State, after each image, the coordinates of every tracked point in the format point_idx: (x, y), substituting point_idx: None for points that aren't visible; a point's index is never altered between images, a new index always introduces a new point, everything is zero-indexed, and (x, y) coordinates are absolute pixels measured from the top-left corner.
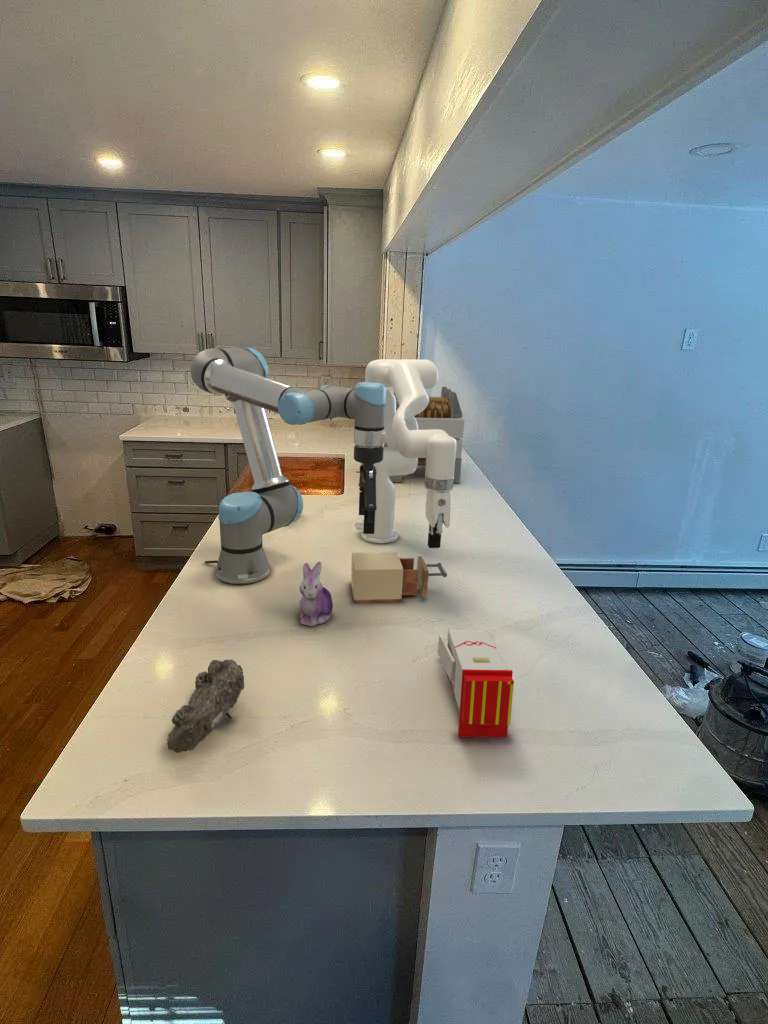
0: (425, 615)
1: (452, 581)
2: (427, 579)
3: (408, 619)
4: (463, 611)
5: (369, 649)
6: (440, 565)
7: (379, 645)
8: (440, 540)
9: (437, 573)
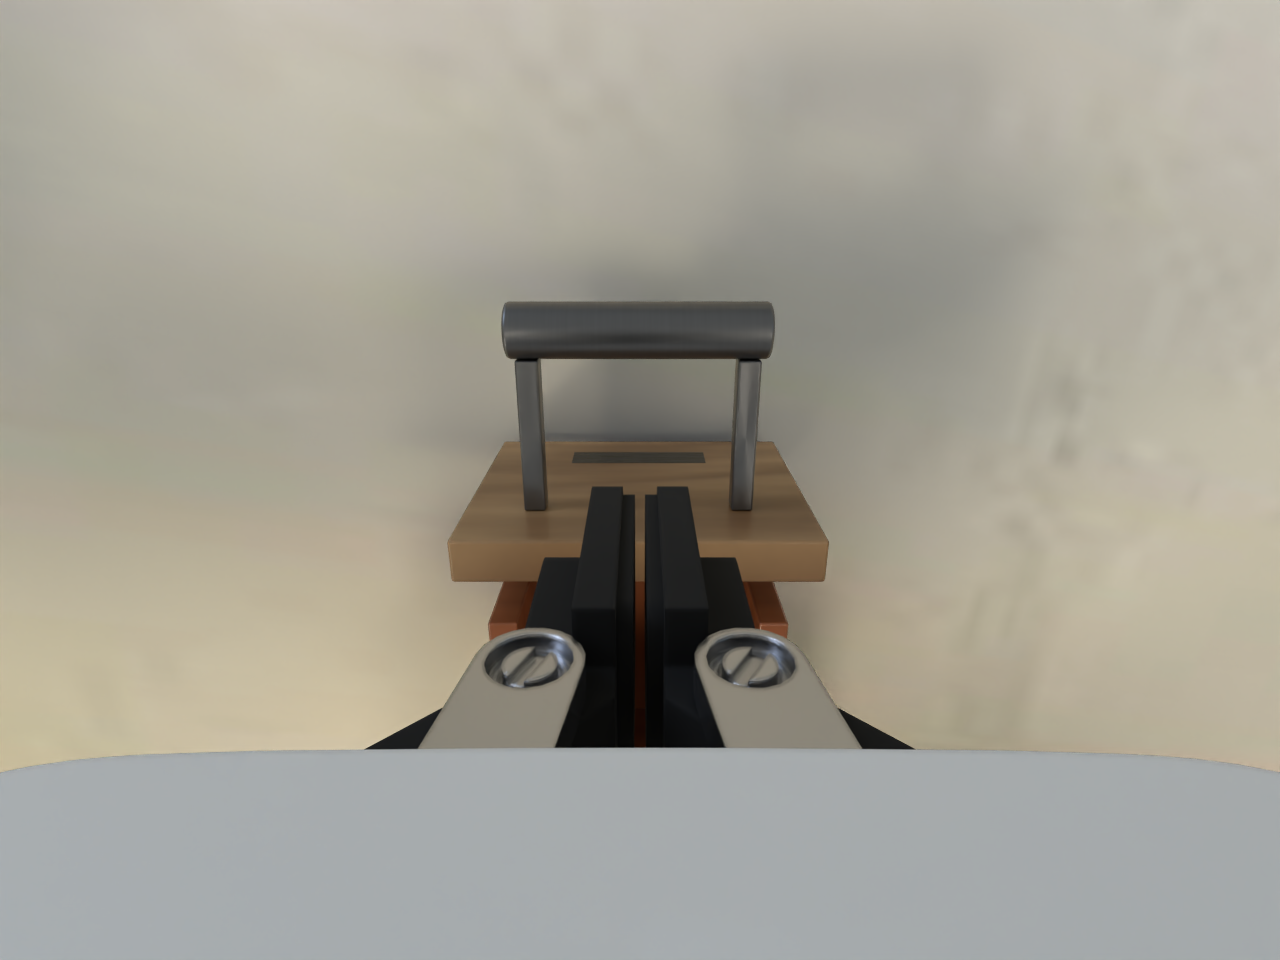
0: (974, 479)
1: (447, 133)
2: (807, 506)
3: (996, 589)
4: (986, 177)
5: None
6: (581, 342)
7: (1208, 759)
8: (694, 542)
9: (748, 408)
